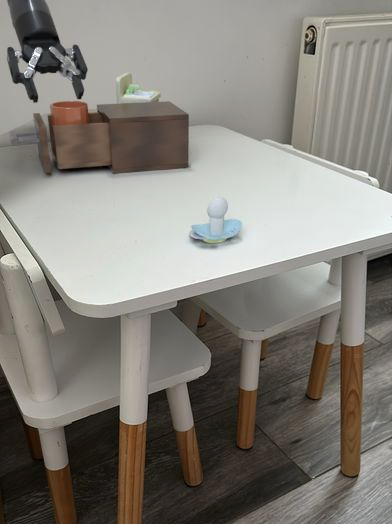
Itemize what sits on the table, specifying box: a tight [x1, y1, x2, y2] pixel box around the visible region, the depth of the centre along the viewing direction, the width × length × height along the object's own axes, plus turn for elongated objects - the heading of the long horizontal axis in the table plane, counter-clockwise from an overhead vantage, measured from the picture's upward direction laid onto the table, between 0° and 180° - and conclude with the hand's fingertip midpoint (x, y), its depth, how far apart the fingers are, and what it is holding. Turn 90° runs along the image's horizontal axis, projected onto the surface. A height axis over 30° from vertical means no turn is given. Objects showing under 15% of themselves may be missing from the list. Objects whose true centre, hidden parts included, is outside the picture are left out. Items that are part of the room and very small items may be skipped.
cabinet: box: [96, 100, 190, 174], centre depth 107 cm, size 15×13×10 cm
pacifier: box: [188, 196, 243, 244], centre depth 77 cm, size 7×6×6 cm
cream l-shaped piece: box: [115, 72, 162, 104], centre depth 119 cm, size 8×7×13 cm
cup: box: [49, 100, 89, 157], centre depth 102 cm, size 7×7×9 cm
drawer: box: [8, 111, 112, 174], centre depth 103 cm, size 18×11×8 cm, turn 108°
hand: (58, 98), depth 105 cm, fingers open, 8 cm apart
